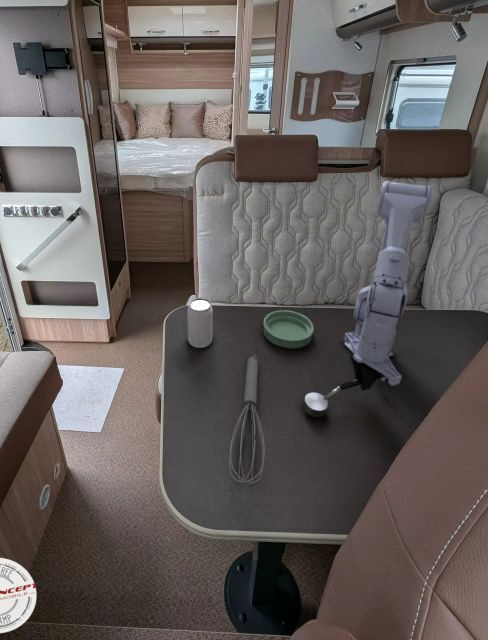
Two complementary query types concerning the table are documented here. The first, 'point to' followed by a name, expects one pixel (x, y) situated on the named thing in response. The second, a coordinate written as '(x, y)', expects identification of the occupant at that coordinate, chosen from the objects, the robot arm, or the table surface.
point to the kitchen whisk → (249, 404)
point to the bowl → (288, 329)
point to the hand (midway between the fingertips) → (362, 385)
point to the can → (200, 323)
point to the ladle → (319, 403)
